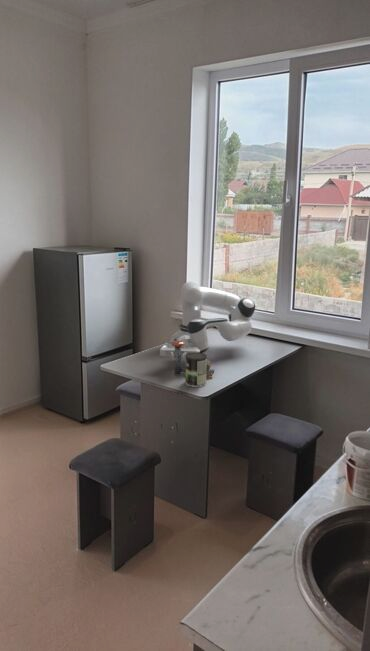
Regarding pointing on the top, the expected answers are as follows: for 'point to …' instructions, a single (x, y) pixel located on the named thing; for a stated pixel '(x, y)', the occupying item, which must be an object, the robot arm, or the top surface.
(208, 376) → the eye post
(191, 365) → the coffee can
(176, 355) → the hook rod
